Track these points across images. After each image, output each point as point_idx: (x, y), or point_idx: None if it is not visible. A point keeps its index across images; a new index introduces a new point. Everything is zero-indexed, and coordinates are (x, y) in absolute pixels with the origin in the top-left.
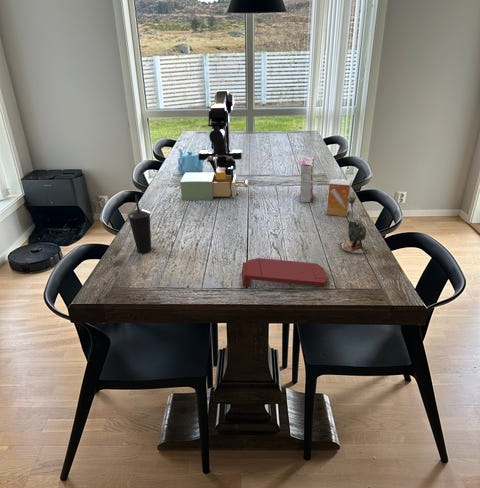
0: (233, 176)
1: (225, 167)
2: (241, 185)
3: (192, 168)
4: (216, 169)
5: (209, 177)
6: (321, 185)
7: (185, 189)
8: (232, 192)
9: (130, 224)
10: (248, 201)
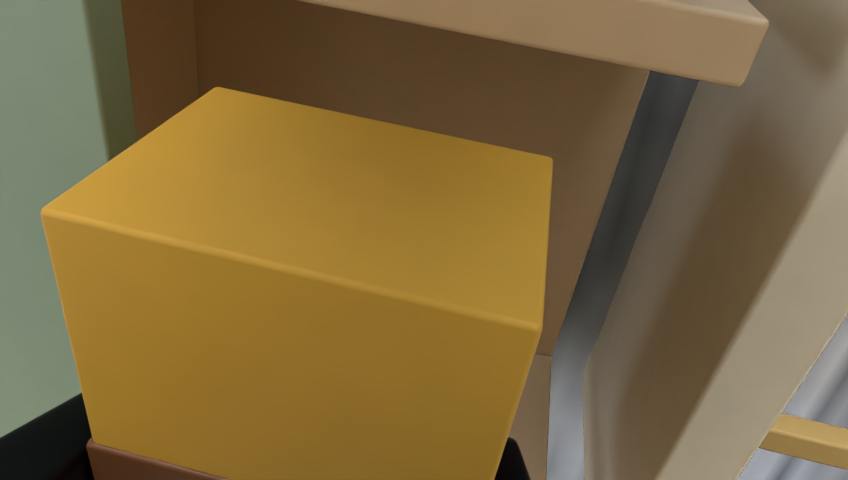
0: (787, 256)
1: (501, 324)
2: (824, 458)
3: None
4: (87, 459)
5: (46, 336)
6: None
7: None
8: (586, 439)
9: None
10: (781, 474)
